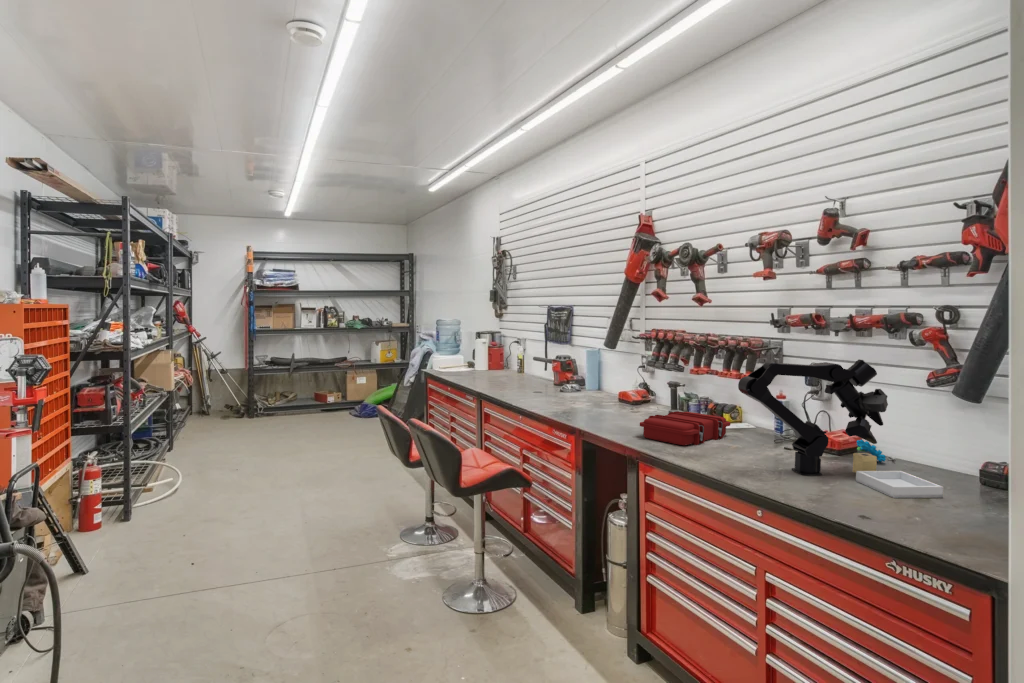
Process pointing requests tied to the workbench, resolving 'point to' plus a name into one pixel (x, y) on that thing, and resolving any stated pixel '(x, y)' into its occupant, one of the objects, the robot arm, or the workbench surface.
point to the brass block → (864, 462)
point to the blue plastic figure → (869, 450)
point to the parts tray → (899, 484)
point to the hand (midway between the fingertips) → (878, 434)
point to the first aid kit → (684, 427)
